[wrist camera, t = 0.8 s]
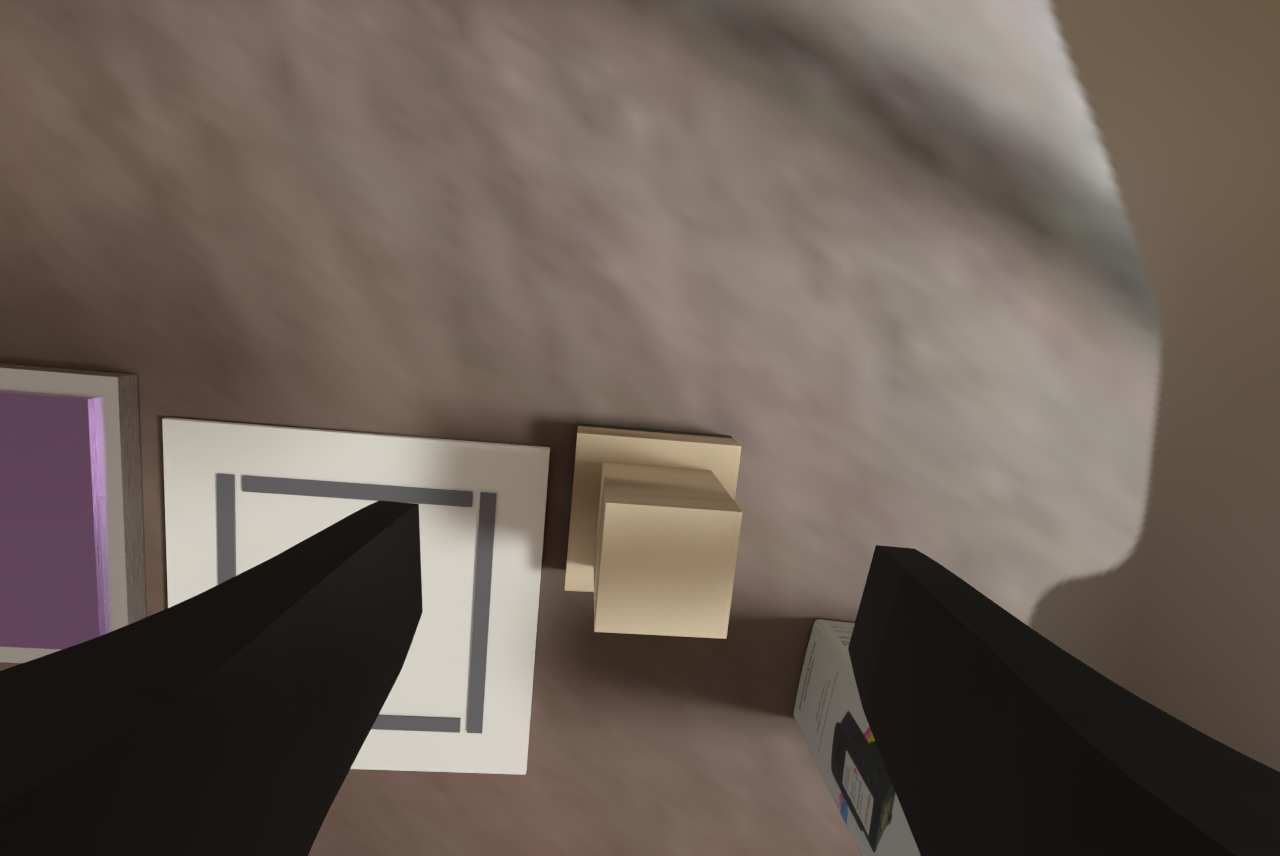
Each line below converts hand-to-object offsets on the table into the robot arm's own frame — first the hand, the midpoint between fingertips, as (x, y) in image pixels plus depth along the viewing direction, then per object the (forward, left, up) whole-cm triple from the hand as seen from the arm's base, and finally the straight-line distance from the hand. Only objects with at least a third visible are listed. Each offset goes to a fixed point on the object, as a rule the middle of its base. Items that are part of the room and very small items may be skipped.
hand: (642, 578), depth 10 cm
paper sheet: (-8, +9, -15) cm, 20 cm away
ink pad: (-5, +22, -15) cm, 27 cm away
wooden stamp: (-3, -2, -15) cm, 16 cm away
